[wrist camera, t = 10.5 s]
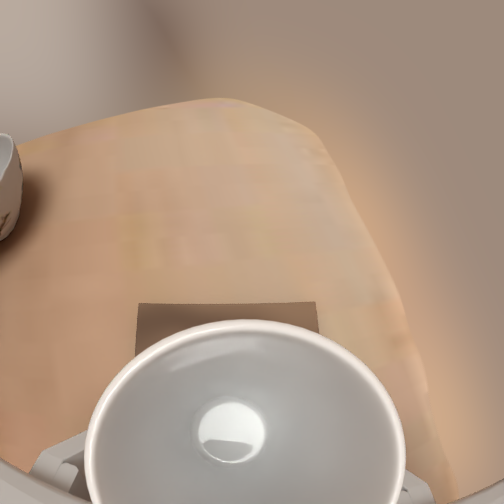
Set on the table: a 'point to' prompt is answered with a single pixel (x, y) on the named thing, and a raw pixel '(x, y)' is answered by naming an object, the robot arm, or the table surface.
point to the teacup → (9, 185)
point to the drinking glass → (245, 422)
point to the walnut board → (215, 317)
